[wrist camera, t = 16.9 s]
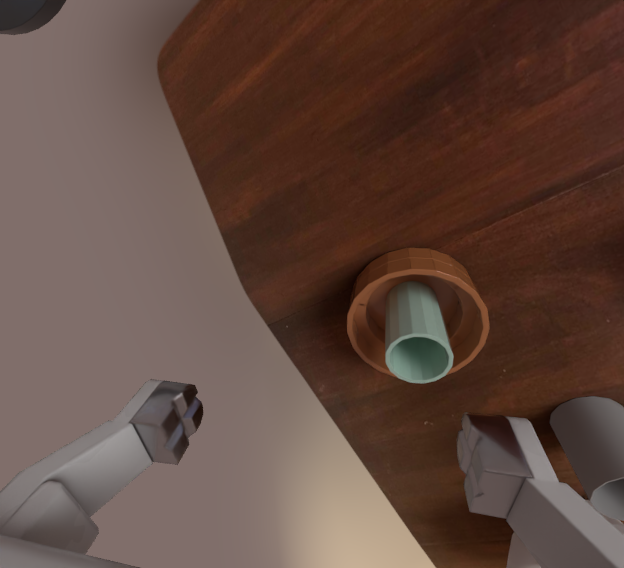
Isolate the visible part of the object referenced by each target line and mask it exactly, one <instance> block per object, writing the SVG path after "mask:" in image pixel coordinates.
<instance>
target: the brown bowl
mask: <svg viewBox="0 0 624 568" xmlns="http://www.w3.org/2000/svg"><path fill="white" fill-rule="evenodd" d="M407 281H417V282H422V283H424V284H426V285H428V286H430V287H431V288H432V289H433V290H434V291H435V293H436V295H437V298H438V301H439V304H440V307H441V311H442V315H443V319H444V322H445V326H446V330H447V333H448V337H449V341H450V344H451V348H452V352H453V356H454V358H453V366H452V367H451V369H450V370H449V372H448V373H447V374H450V373H453V372H456V371H457V370H459V369H460V368H462V367H463V366H465V365H466V364H468V363H469V362H471V361H472V360H473V359H474V358H475V357H476V355H477V354H478V353H479V351H480V350H481V349H482V348H483V346H484V345H485V342H486V338H487V335H488V331H489V328H490V325H489V318H488V311H487V307H486V305H485V303H484V301H483V299H482V297H481V295H480V293H479V291H478V289H477V287H476V285H475V284H474V282H473V280H472V278H471V277H470V275H469V274H468V272H467V270H466V269H465V268H464V266H462V265H461V264H460V263H458V262H457V261H456V260H454V259H453V258H452V257H450V256H449V255H446V254H443V253H441V252H438V251H435V250H432V249H428V248H404V249H400V250H396V251H392V252H388V253H386V254H384V255H382V256H380V257H379V258H377V259H375V260H373V261H372V262H370V263H369V264H368V265H367V266H366V268H365V269H364V270H363V271H362V272H361V273H360V274H359V275H358V277H357V280H356V282H355V284H354V287H353V289H352V293H351V298H350V303H349V309H348V314H347V333H348V336H349V339H350V341H351V344H352V347H353V348H354V349H355V351H356V352H357V353H358V354H359V356H360V357H361V358H362V359H363V360H364V361H365V362H367V363H368V364H369V365H371V366H372V367H374V368H375V369H377V370H378V371H380V372H383V373H386V374H389V375H391V376H394V377H397V376H395V375H394V374H393V373H392V372H391V371H390V370H389V368H388V366H387V364H386V362H385V321H386V297H387V295H388V293H389V292H390V290H391V289H392V288H393V287H395V286H396V285H398V284H400V283H403V282H407ZM447 374H446V375H447ZM397 378H398V377H397Z"/></svg>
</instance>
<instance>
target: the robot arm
mask: <svg viewBox="0 0 624 568" xmlns="http://www.w3.org/2000/svg"><path fill="white" fill-rule="evenodd" d="M197 393H198V392H197V389H196V387H195V385H192V384H184V383H177V382H170V381H161V380H152V379H151V380H149V381H147V382H145V384H144V385H143V386H142V387H141V388H140V389H139V391H138V392H137V393H136V394H135V395H134V396H133V398H132V399H131V400H130V401H129V402H128V404H127V405H126V406H125V407H124V408H123V409H122V411H121V412H120V413H119V414H118V416H117V417H116V418H115V419H114V420H113V421H107V422H105V423H103V424H102V425H100V426H98V427H97V428H95V429H93V430H91V431H90V432H88V433H86V434H85V435H83V436H81V437H80V438H78V439H76V440H74V441H73V442H71V443H69V444H67V445H66V446H64V447H62V448H61V449H59V450H57V451H55V452H54V453H52V454H50V455H49V456H47V457H45V458H43V459H42V460H40V461H38V462H37V463H35V464H33V465H32V466H30V467H28V468H26V469H25V470H23V471H21V472H19V473H18V474H17V475H16V476H15V477H14V478H13V479H12V480H11V481H10V482H9V483H8V484H7V485H6V486H5V487H4V488H3V489H2V490H1V491H0V568H139V567H135V566H130V565H126V564H122V563H118V562H114V561H110V560H105V559H101V558H97V557H93V556H88V555H85V554H86V552H87V550H88V549H89V548H90V546H91V545H92V543H93V541H94V540H95V538H96V537H97V535H98V533H99V532H98V527H97V526H96V524H95V523H94V522H93V521H92V520H91V518H90V517H91V516H92V515H93V514H94V513H95V512H97V511H98V510H99V509H100V508H101V507H102V506H103V505H105V504H106V503H107V502H108V501H109V500H111V499H112V498H113V497H114V496H115V495H116V494H118V493H119V492H120V491H121V490H122V489H123V488H124V487H126V486H127V485H128V484H129V483H130V482H131V481H133V480H134V479H135V478H136V477H137V476H138V475H140V474H141V473H142V472H143V471H144V470H146V468H148V467H149V466H150V465H151V464H152V462H160V463H167V464H175V465H178V463H179V461H180V460H181V458H182V456H183V454H184V453H185V451H186V449H187V447H188V446H189V440H188V437H190V436H191V435H192V434H194V433H195V432H196V431H197V429H198V427H199V426H200V424H201V420H202V416H203V406H202V403H201V401H200V400H198V398H196V397H195V396H196V394H197ZM461 422H462V426H463V429H462V430H460V431H459V432H458V437H457V455H458V461H459V466H460V468H461V469H462V471H463V472H464V473H465V474H466V478H465V481H464V489H465V493H466V498H467V502H468V507H469V511H470V512H473V513H478V514H484V515H489V516H494V517H500V518H505V519H507V520H506V521H507V523H508V524H509V525H510V527H511V528H512V529H513V531H514V532H515V533H516V535H517V536H518V537H519V539H520V540H521V541H522V543H523V544H524V545H525V547H526V548H527V549H528V551H529V552H530V553H531V555H532V556H533V557H534V559H535V560H536V561H537V563H538V564H539V565H540V567H541V568H624V535H623V534H622V533H621V532H620V531H618V530H617V529H616V528H615V527H614V526H613V525H612V524H611V523H610V522H609V521H607V520H606V519H605V518H604V517H603V516H602V515H601V514H600V513H599V512H597V511H596V510H595V509H594V508H593V507H592V506H591V505H590V504H589V503H588V502H586V501H585V500H584V499H583V498H582V497H581V496H580V495H579V494H578V493H576V492H575V491H574V490H573V489H572V488H571V487H570V486H569V485H568V484H566V483H562V482H559V481H558V479H557V477H556V475H555V472H554V470H553V468H552V466H551V464H550V462H549V460H548V458H547V456H546V454H545V452H544V450H543V447H542V445H541V443H540V441H539V439H538V437H537V435H536V433H535V431H534V429H533V427H532V425H531V422H530V421H529V420H528V419H526V418H516V417H507V416H505V417H504V416H500V415H489V414H478V413H467V412H465V413H464V414H463V416H462V420H461Z"/></svg>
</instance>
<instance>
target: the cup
mask: <svg viewBox="0 0 624 568" xmlns="http://www.w3.org/2000/svg"><path fill="white" fill-rule="evenodd" d="M550 425H551V427H552V429H553V431H554V433H555V434H556V436H557V438H558V440H559V442H560V444H561V446H562V448H563V450H564V452H565V454H566V456H567V458H568V460H569V462H570V464H571V465H572V467H573V469H574V471H575V473H576V475H577V477H578V479H579V481H580V483H581V485H582V487H583V489H584V491H585V493H586V494H587V496H588V498H589V500H590V502H591V504H592V505H593V507H594V508H595V510H596V511H598V512H600V513H602V514H604V515H606V516H607V517H609V518H613V519H618V520H623V521H624V407H623V406H622V405H620V404H618V403H617V402H615V401H613V400H611V399H608V398H601V397H594V396H590V397H582V398H575V399H572V400H570V401H568V402H565V403H563V404H561V405H559V406H558V407H557V408H556V409H555V410H554V411H553V412H552V413H551V418H550Z"/></svg>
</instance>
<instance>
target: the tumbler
mask: <svg viewBox="0 0 624 568" xmlns="http://www.w3.org/2000/svg"><path fill="white" fill-rule="evenodd" d="M453 358H454V356H453V352H452V348H451V344H450V341H449V337H448V333H447V330H446V326H445V322H444V319H443V315H442V311H441V307H440V304H439V301H438V298H437V295H436V293H435V291H434V290H433V289H432V288H431V287H430V286H428V285H426V284H424V283H422V282H417V281H407V282H403V283H400V284H398V285H396V286H395V287H393V288H392V289H391V290H390V292H389V293H388V295H387V297H386V321H385V362H386V364H387V366H388V368H389V370H390V371H391V372H392V373H393V374H394V375H395V376H397V377H398V378H400V379H402V380H405V381H408V382H411V383H428V382H433V381H436V380H438V379H440V378H442V377H443V376H445V375H446V374H447V373H448V372H449V370H450V369H451V367H452V366H453Z"/></svg>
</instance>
